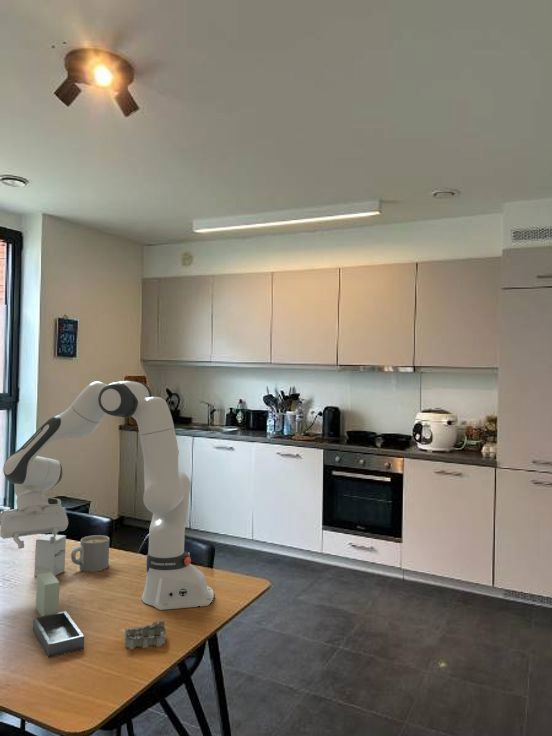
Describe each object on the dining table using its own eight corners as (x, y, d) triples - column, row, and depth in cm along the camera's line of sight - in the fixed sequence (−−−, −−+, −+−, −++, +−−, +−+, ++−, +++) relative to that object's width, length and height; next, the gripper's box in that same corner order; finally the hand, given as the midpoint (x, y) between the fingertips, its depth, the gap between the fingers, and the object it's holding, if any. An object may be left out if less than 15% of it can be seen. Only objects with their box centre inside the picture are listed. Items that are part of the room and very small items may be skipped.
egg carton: (165, 635, 151) (166, 620, 151) (165, 648, 143) (166, 632, 143) (125, 637, 149) (125, 621, 149) (122, 650, 141) (123, 634, 141)
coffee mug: (104, 560, 208) (105, 533, 208) (111, 568, 199) (112, 541, 200) (67, 566, 201) (68, 538, 201) (72, 574, 192) (73, 545, 193)
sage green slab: (49, 604, 167) (51, 571, 168) (58, 617, 159) (59, 582, 159) (35, 607, 165) (37, 574, 165) (43, 620, 157) (44, 584, 157)
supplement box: (53, 578, 189) (54, 541, 189) (33, 576, 190) (34, 539, 190) (65, 570, 196) (66, 535, 196) (46, 568, 198) (47, 533, 198)
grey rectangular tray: (65, 622, 156) (65, 611, 156) (83, 649, 141) (84, 636, 141) (32, 630, 151) (33, 617, 151) (48, 658, 136) (48, 644, 136)
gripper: (-2, 505, 175) (2, 544, 167) (65, 499, 187) (72, 535, 179) (-5, 516, 179) (-1, 555, 171) (61, 509, 191) (68, 545, 183)
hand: (37, 545), depth 175 cm, fingers open, 8 cm apart
